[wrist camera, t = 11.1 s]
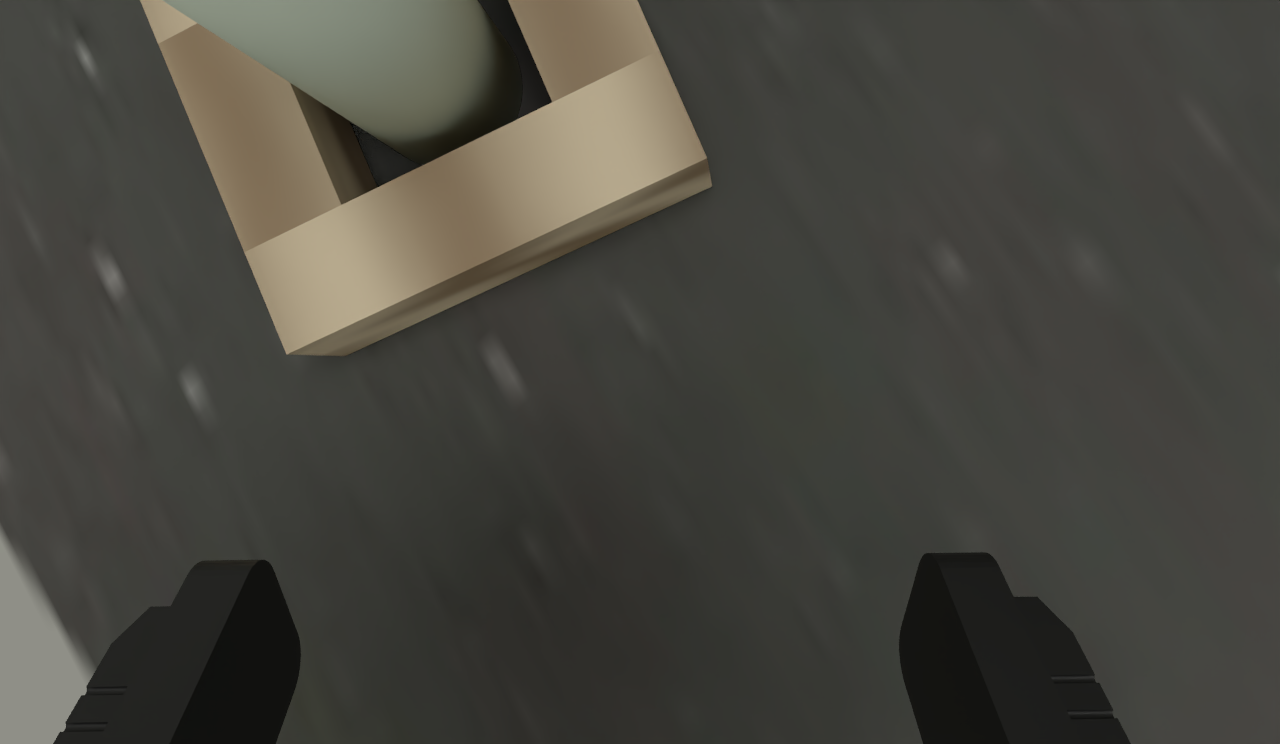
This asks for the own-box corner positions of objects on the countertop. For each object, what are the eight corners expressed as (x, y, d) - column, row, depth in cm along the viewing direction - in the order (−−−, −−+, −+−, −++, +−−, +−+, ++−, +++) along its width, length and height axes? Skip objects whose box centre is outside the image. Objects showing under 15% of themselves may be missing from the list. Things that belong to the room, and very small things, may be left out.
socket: (546, -189, 22) (516, -274, 19) (712, 186, 22) (707, 157, 19) (196, -2, 24) (117, -55, 21) (345, 356, 23) (286, 354, 20)
